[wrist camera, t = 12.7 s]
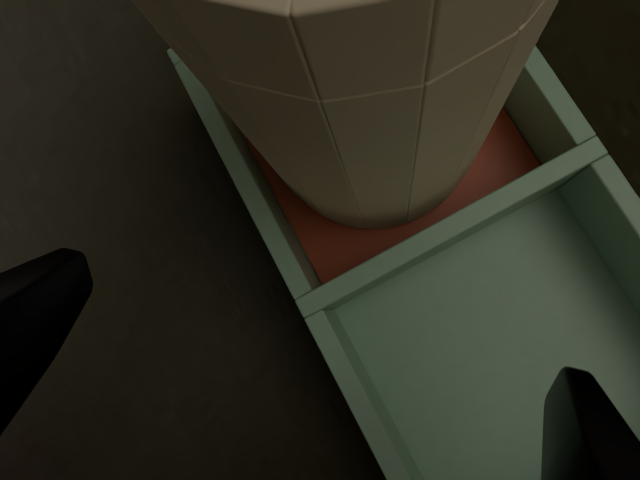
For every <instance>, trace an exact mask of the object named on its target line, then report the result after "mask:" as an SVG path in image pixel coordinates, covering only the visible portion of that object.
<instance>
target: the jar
mask: <svg viewBox="0 0 640 480" xmlns="http://www.w3.org/2000/svg"><path fill="white" fill-rule="evenodd" d="M131 1H132V2H133V3H134V4H135V6H136V7H137V8H138V9H139V10H140V12H141V13H142V14H143V15H144V16H145V17H146V19H147V20H148V21H149V22H150V23H151V25H152V26H153V27H154V28H155V29H156V31H157V32H158V33H159V34H160V35H161V37H162V38H163V39H164V40H165V41H166V42H167V44H168V45H169V46H170V47H171V48H172V50H173V51H174V52H175V53H176V54H177V55H178V57H179V58H180V59H181V60H182V61H183V63H184V64H185V65H186V66H187V67H188V68H189V70H190V71H191V72H192V73H193V74H194V76H195V77H196V78H197V79H198V80H199V81H200V83H201V84H202V85H203V86H204V87H205V89H206V90H207V91H208V92H209V93H210V94H211V96H212V97H213V98H214V99H215V100H216V102H217V103H218V104H219V105H220V106H221V107H222V109H223V110H224V111H225V112H226V113H227V114H228V116H229V117H230V118H231V119H232V120H233V122H234V123H235V124H236V125H237V126H238V127H239V129H240V130H241V131H242V132H243V133H244V135H245V136H246V137H247V138H248V139H249V140H250V142H251V143H252V144H253V145H254V146H255V148H256V149H257V150H258V151H259V152H260V153H261V155H262V156H263V157H264V158H265V159H266V161H267V162H268V163H269V164H270V165H271V166H272V168H273V169H274V170H275V171H276V172H277V174H278V175H279V176H280V177H281V178H282V179H283V181H284V182H285V183H286V184H287V185H288V187H289V188H290V189H291V190H292V191H293V192H294V194H295V195H297V196H298V197H299V198H301V199H302V200H303V201H304V202H305V203H306V204H307V205H308V206H309V207H311V208H312V209H313V210H315V211H316V212H318V213H319V214H320V215H322V216H324V217H326V218H328V219H330V220H332V221H334V222H337V223H340V224H342V225H345V226H350V227H355V228H360V229H386V228H391V227H396V226H400V225H404V224H407V223H410V222H412V221H414V220H417V219H419V218H421V217H423V216H425V215H426V214H428V213H429V212H431V211H432V210H434V209H435V208H437V207H438V206H439V205H440V204H442V203H443V202H444V201H445V200H446V199H447V198H448V197H449V196H450V194H451V193H452V192H453V191H454V190H455V189H456V187H457V186H458V184H459V183H460V181H461V180H462V178H463V177H464V176H465V175H466V173H467V172H468V171H469V169H470V167H471V165H472V163H473V162H474V160H475V158H476V156H477V154H478V152H479V150H480V148H481V146H482V145H483V143H484V141H485V139H486V137H487V135H488V133H489V131H490V129H491V128H492V126H493V124H494V122H495V120H496V118H497V116H498V114H499V112H500V111H501V109H502V107H503V105H504V103H505V101H506V99H507V97H508V95H509V94H510V92H511V90H512V88H513V86H514V84H515V82H516V80H517V78H518V77H519V75H520V73H521V71H522V69H523V67H524V65H525V63H526V62H527V60H528V58H529V56H530V54H531V52H532V50H533V48H534V46H535V45H536V43H537V41H538V39H539V37H540V35H541V33H542V31H543V29H544V28H545V26H546V24H547V22H548V20H549V18H550V16H551V14H552V12H553V11H554V9H555V7H556V5H557V3H558V1H559V0H131Z"/></svg>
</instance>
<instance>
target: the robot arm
mask: <svg viewBox="0 0 640 480" xmlns="http://www.w3.org/2000/svg"><path fill="white" fill-rule="evenodd" d="M92 288H93V281H92V277H91V274H90V270H89V267H88V263H87V260H86V257H85V255H84V254H83V253H82V252H80V251H76V250H72V249H68V248H60V249H57V250H55V251H52V252H50V253H48V254H45V255H43V256H40V257H38V258H36V259H33V260H31V261H28V262H26V263H24V264H21V265H19V266H16V267H14V268H12V269H9V270H7V271H4V272H2V273H0V436H1V434H2V433H3V431H4V430H5V429H6V427H7V426H8V424H9V423H10V421H11V420H12V419H13V417H14V416H15V414H16V413H17V411H18V410H19V409H20V407H21V406H22V404H23V403H24V402H25V400H26V399H27V397H28V396H29V394H30V393H31V392H32V390H33V389H34V387H35V386H36V384H37V383H38V382H39V380H40V379H41V377H42V376H43V374H44V373H45V372H46V370H47V369H48V367H49V366H50V364H51V363H52V361H53V360H54V358H55V357H56V355H57V353H58V352H59V350H60V348H61V347H62V345H63V343H64V341H65V339H66V338H67V336H68V334H69V332H70V330H71V329H72V327H73V325H74V323H75V321H76V320H77V318H78V316H79V314H80V313H81V311H82V309H83V307H84V305H85V304H86V302H87V300H88V298H89V296H90V294H91V292H92ZM541 480H640V441H639V439H638V438H637V437H636V435H635V434H634V432H633V431H632V430H631V428H630V427H629V425H628V424H627V422H626V421H625V420H624V418H623V417H622V415H621V414H620V413H619V411H618V410H617V408H616V407H615V406H614V404H613V403H612V401H611V400H610V399H609V397H608V396H607V394H606V393H605V391H604V390H603V389H602V387H601V386H600V384H599V383H598V382H597V380H596V379H595V377H594V376H593V375H592V374H591V373H590V372H588V371H586V370H582V369H577V368H573V367H569V366H565V367H563V368H562V369H561V370H560V371H559V373H558V375H557V377H556V378H555V380H554V382H553V384H552V386H551V387H550V389H549V391H548V393H547V395H546V398H545V402H544V414H543V438H542V463H541Z"/></svg>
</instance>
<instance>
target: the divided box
mask: <svg viewBox="0 0 640 480" xmlns="http://www.w3.org/2000/svg"><path fill="white" fill-rule="evenodd" d="M167 53H168V55H169V57H170V59H171V61H172V63H173V65H174V66H175V69H176V71H177V73H178V75H179V77H180V79H181V81H182V83H183V85H184V87H185V88H186V90H187V92H188V94H189V96H190V98H191V100H192V102H193V104H194V106H195V108H196V110H197V112H198V114H199V116H200V118H201V120H202V122H203V123H204V125H205V127H206V129H207V131H208V133H209V135H210V137H211V139H212V141H213V143H214V145H215V147H216V149H217V151H218V153H219V155H220V157H221V158H222V160H223V162H224V164H225V166H226V168H227V170H228V172H229V174H230V176H231V178H232V180H233V182H234V184H235V186H236V188H237V190H238V192H239V193H240V195H241V197H242V199H243V201H244V203H245V205H246V207H247V209H248V211H249V213H250V215H251V217H252V219H253V221H254V223H255V225H256V227H257V228H258V230H259V232H260V234H261V236H262V238H263V240H264V242H265V244H266V246H267V248H268V250H269V252H270V254H271V256H272V258H273V260H274V262H275V263H276V265H277V267H278V269H279V271H280V273H281V275H282V277H283V279H284V281H285V283H286V285H287V287H288V289H289V291H290V293H291V295H292V297H293V298H294V299H296V300H295V302H296V304H297V306H298V308H299V310H300V312H301V314H302V316H303V317H304V318H305V322H306V324H307V326H308V328H309V330H310V332H311V334H312V336H313V337H314V339H315V341H316V343H317V345H318V347H319V349H320V351H321V353H322V355H323V357H324V359H325V361H326V363H327V365H328V367H329V369H330V371H331V372H332V374H333V376H334V378H335V380H336V382H337V384H338V386H339V388H340V390H341V392H342V394H343V396H344V398H345V400H346V402H347V404H348V406H349V408H350V409H351V411H352V413H353V415H354V417H355V419H356V421H357V423H358V425H359V427H360V429H361V431H362V433H363V435H364V437H365V439H366V441H367V443H368V444H369V446H370V448H371V450H372V452H373V454H374V456H375V458H376V460H377V462H378V464H379V466H380V468H381V470H382V472H383V474H384V476H385V478H386V479H387V480H541V463H542V438H543V414H544V402H545V398H546V395H547V393H548V391H549V389H550V387H551V386H552V384H553V382H554V380H555V378H556V377H557V375H558V373H559V371H560V370H561V369H562V368H563V367H565V366H569V367H573V368H577V369H582V370H586V371H588V372H590V373H591V374H592V375H593V376H594V377H595V379H596V380H597V382H598V383H599V384H600V386H601V387H602V389H603V390H604V391H605V393H606V394H607V396H608V397H609V399H610V400H611V401H612V403H613V404H614V406H615V407H616V408H617V410H618V411H619V413H620V414H621V415H622V417H623V418H624V420H625V421H626V422H627V424H628V425H629V427H630V428H631V430H632V431H633V432H634V434H635V435H636V437H637V438H638V439H639V441H640V199H639V197H638V196H637V194H636V193H635V191H634V190H633V188H632V187H631V186H630V184H629V183H628V181H627V180H626V178H625V177H624V175H623V174H622V172H621V171H620V169H619V168H618V166H617V165H616V164H615V162H614V161H613V159H612V158H611V156H610V155H607V153H608V152H607V150H606V149H605V147H604V146H603V144H602V143H601V141H600V140H599V138H598V137H597V136H595V135H596V134H595V132H594V131H593V129H592V128H591V126H590V125H589V123H588V122H587V120H586V119H585V117H584V116H583V114H582V113H581V112H580V110H579V109H578V107H577V106H576V104H575V103H574V101H573V100H572V98H571V97H570V95H569V94H568V92H567V91H566V90H565V88H564V87H563V85H562V84H561V82H560V81H559V79H558V78H557V76H556V75H555V73H554V72H553V70H552V69H551V68H550V66H549V65H548V63H547V62H546V60H545V59H544V57H543V56H542V54H541V53H540V51H539V50H538V48H537V47H536V46H534V48H533V50H532V52H531V54H530V56H529V58H528V60H527V62H526V63H525V65H524V67H523V69H522V71H521V73H520V75H519V77H518V78H517V80H516V82H515V84H514V86H513V88H512V90H511V92H510V94H509V95H508V97H507V99H506V101H505V103H504V105H503V107H502V109H501V111H500V112H499V114H498V116H497V118H496V120H495V122H494V124H493V126H492V128H491V129H490V131H489V133H488V135H487V137H486V139H485V141H484V143H483V145H482V146H481V148H480V150H479V152H478V154H477V156H476V158H475V160H474V162H473V163H472V165H471V167H470V169H469V171H468V172H467V173H466V175H465V176H464V177H463V178H462V180H461V181H460V183H459V184H458V186H457V187H456V189H455V190H454V191H453V192H452V193H451V194H450V196H449V197H448V198H447V199H446V200H445V201H444V202H443V203H442V204H440V205H439V206H438V207H437V208H435V209H434V210H432V211H431V212H429V213H428V214H426V215H425V216H423V217H421V218H419V219H417V220H414V221H412V222H410V223H407V224H404V225H400V226H396V227H391V228H386V229H360V228H355V227H350V226H345V225H342V224H340V223H337V222H334V221H332V220H330V219H328V218H326V217H324V216H322V215H320V214H319V213H318V212H316V211H315V210H313V209H312V208H311V207H309V206H308V205H307V204H306V203H305V202H304V201H303V200H302V199H301V198H299V197H298V196H297V195H295V194H294V192H293V191H292V190H291V189H290V188H289V187H288V185H287V184H286V183H285V182H284V181H283V179H282V178H281V177H280V176H279V175H278V174H277V172H276V171H275V170H274V169H273V168H272V166H271V165H270V164H269V163H268V162H267V161H266V159H265V158H264V157H263V156H262V155H261V153H260V152H259V151H258V150H257V149H256V148H255V146H254V145H253V144H252V143H251V142H250V140H249V139H248V138H247V137H246V136H245V135H244V133H243V132H242V131H241V130H240V129H239V127H238V126H237V125H236V124H235V123H234V122H233V120H232V119H231V118H230V117H229V116H228V114H227V113H226V112H225V111H224V110H223V109H222V107H221V106H220V105H219V104H218V103H217V102H216V100H215V99H214V98H213V97H212V96H211V94H210V93H209V92H208V91H207V90H206V89H205V87H204V86H203V85H202V84H201V83H200V81H199V80H198V79H197V78H196V77H195V76H194V74H193V73H192V72H191V71H190V70H189V68H188V67H187V66H186V65H185V64H184V63H183V61H182V60H181V59H180V58H179V57H178V55H177V54H176V53H175V52H174V51H173V50H172V48H170V49H168V50H167Z"/></svg>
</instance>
